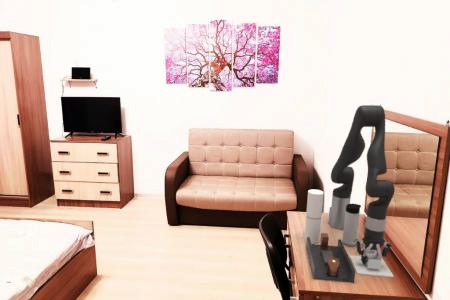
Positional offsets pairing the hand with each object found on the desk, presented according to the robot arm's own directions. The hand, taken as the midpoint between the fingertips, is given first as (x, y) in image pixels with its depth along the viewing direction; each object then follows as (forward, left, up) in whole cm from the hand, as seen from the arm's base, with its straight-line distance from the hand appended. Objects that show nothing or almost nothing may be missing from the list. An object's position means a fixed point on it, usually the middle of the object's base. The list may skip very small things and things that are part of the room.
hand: (370, 263), depth 139 cm
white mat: (0, 0, -1) cm, 1 cm away
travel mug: (-17, +9, -1) cm, 20 cm away
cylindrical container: (-29, -4, -1) cm, 30 cm away
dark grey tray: (-11, -13, -1) cm, 18 cm away
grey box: (0, 0, +1) cm, 1 cm away
